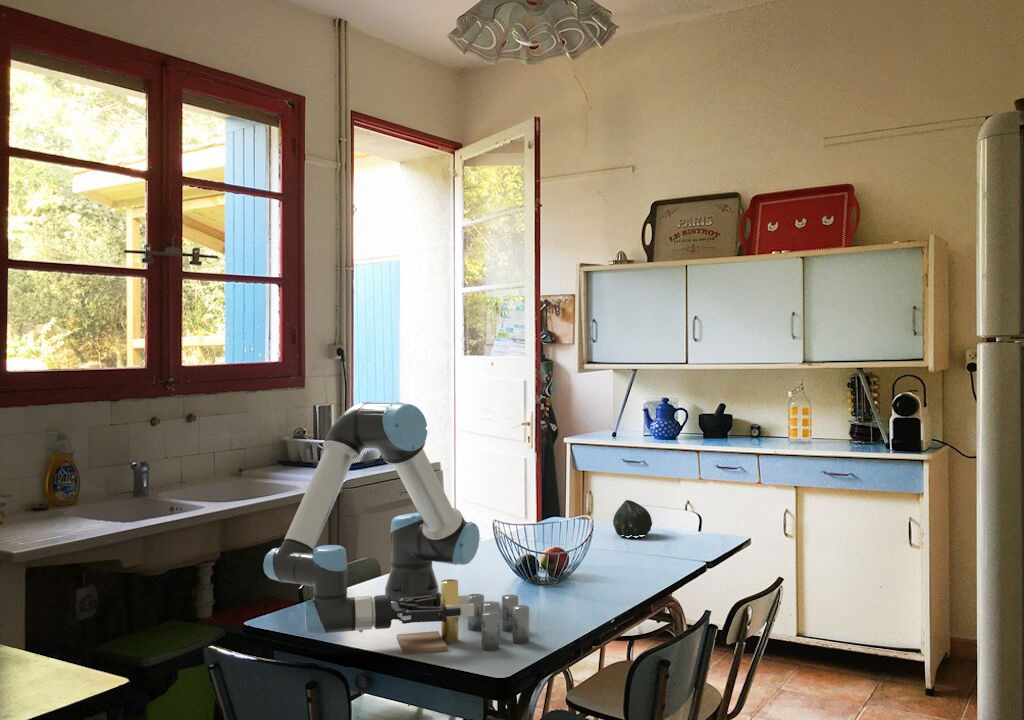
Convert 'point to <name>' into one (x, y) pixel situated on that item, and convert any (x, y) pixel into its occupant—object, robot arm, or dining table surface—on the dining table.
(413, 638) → the board
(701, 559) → the dining table surface
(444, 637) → the cylinder
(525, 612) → the spacers
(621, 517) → the squash
